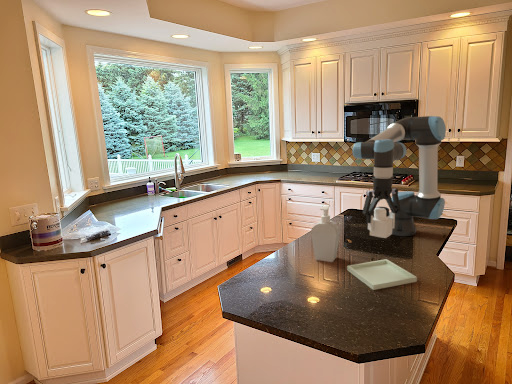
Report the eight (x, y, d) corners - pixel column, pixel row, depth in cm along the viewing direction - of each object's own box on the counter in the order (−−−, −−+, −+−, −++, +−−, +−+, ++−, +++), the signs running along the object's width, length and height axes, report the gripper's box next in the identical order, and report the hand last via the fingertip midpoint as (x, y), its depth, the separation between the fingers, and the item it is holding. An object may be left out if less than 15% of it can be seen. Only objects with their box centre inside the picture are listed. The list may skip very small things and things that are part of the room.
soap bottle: (341, 255, 176) (341, 204, 170) (336, 263, 167) (336, 209, 161) (316, 252, 181) (316, 202, 176) (310, 260, 172) (310, 207, 167)
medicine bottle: (376, 231, 159) (376, 204, 157) (392, 234, 155) (393, 206, 152) (369, 235, 154) (370, 208, 152) (386, 238, 149) (387, 210, 147)
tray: (386, 263, 164) (386, 259, 164) (416, 281, 145) (416, 276, 145) (347, 270, 159) (347, 265, 159) (373, 289, 140) (373, 285, 140)
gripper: (400, 174, 156) (398, 223, 160) (354, 177, 150) (353, 229, 155) (411, 176, 149) (409, 228, 153) (363, 180, 143) (362, 234, 147)
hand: (381, 228), depth 154 cm, fingers closed on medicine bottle, 10 cm apart
